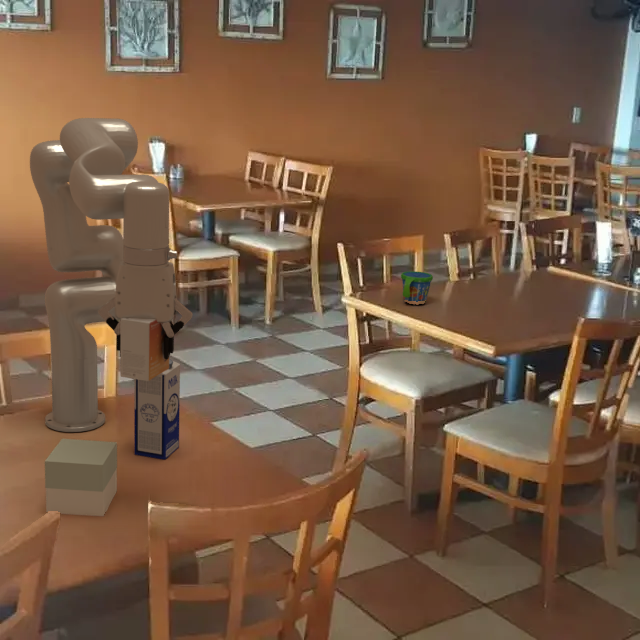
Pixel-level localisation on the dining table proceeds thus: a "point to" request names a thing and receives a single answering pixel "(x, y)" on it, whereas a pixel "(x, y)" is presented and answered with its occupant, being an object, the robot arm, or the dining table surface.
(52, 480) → the tower top
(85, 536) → the dining table surface
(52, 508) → the tower bottom
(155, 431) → the milk carton
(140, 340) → the small box
